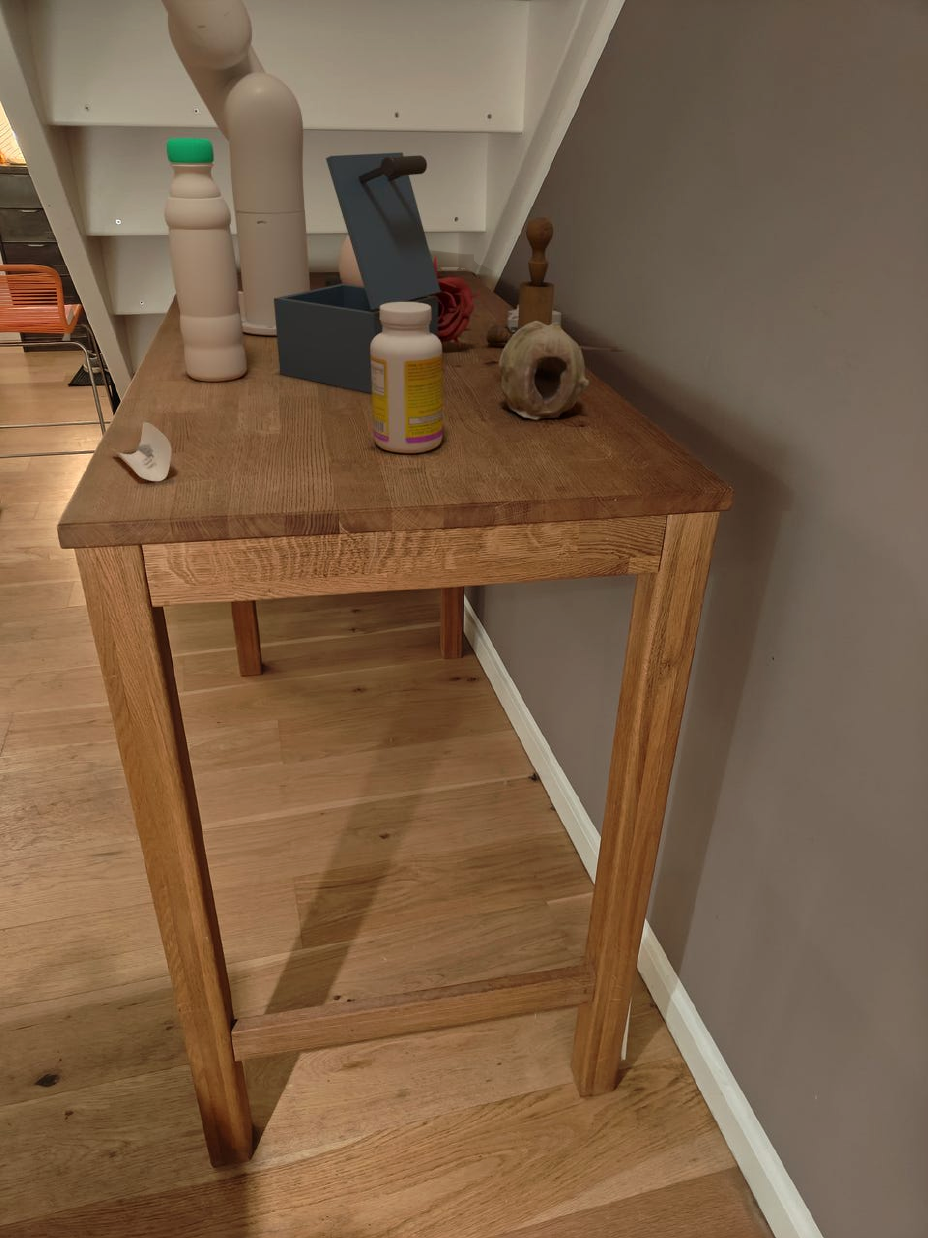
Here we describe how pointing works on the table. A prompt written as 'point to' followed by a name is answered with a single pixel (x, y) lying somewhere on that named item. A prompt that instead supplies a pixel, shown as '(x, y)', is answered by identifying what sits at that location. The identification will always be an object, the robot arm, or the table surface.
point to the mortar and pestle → (537, 277)
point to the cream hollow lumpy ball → (542, 371)
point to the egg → (349, 265)
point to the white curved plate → (150, 454)
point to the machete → (503, 335)
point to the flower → (453, 307)
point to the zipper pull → (514, 314)
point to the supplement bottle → (406, 380)
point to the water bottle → (203, 265)
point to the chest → (332, 334)
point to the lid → (385, 225)
